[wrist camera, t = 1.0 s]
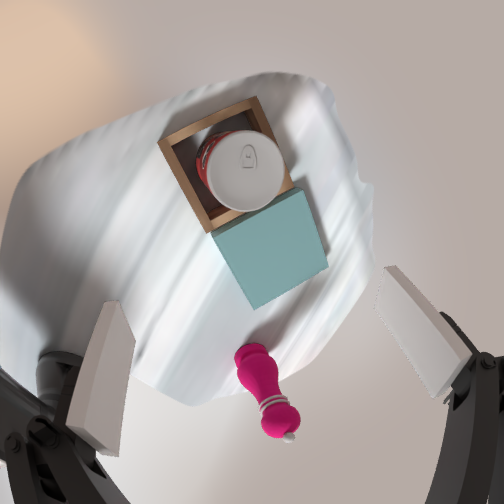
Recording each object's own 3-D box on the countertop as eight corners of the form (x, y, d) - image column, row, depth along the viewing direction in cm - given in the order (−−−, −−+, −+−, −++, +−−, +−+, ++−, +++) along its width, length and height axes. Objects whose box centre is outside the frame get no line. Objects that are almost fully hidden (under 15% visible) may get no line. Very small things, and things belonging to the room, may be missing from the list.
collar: (202, 225, 37) (206, 233, 34) (157, 141, 31) (156, 142, 28) (283, 182, 38) (294, 186, 35) (247, 99, 32) (256, 95, 29)
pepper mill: (227, 367, 50) (260, 456, 32) (238, 339, 48) (279, 432, 30) (260, 368, 52) (300, 449, 35) (273, 341, 50) (322, 425, 33)
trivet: (250, 303, 45) (254, 310, 43) (210, 233, 38) (212, 238, 36) (322, 261, 46) (328, 266, 44) (296, 187, 39) (303, 189, 38)
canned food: (243, 125, 34) (275, 121, 24) (258, 180, 37) (293, 198, 28) (187, 141, 32) (196, 143, 23) (204, 198, 36) (221, 223, 27)
